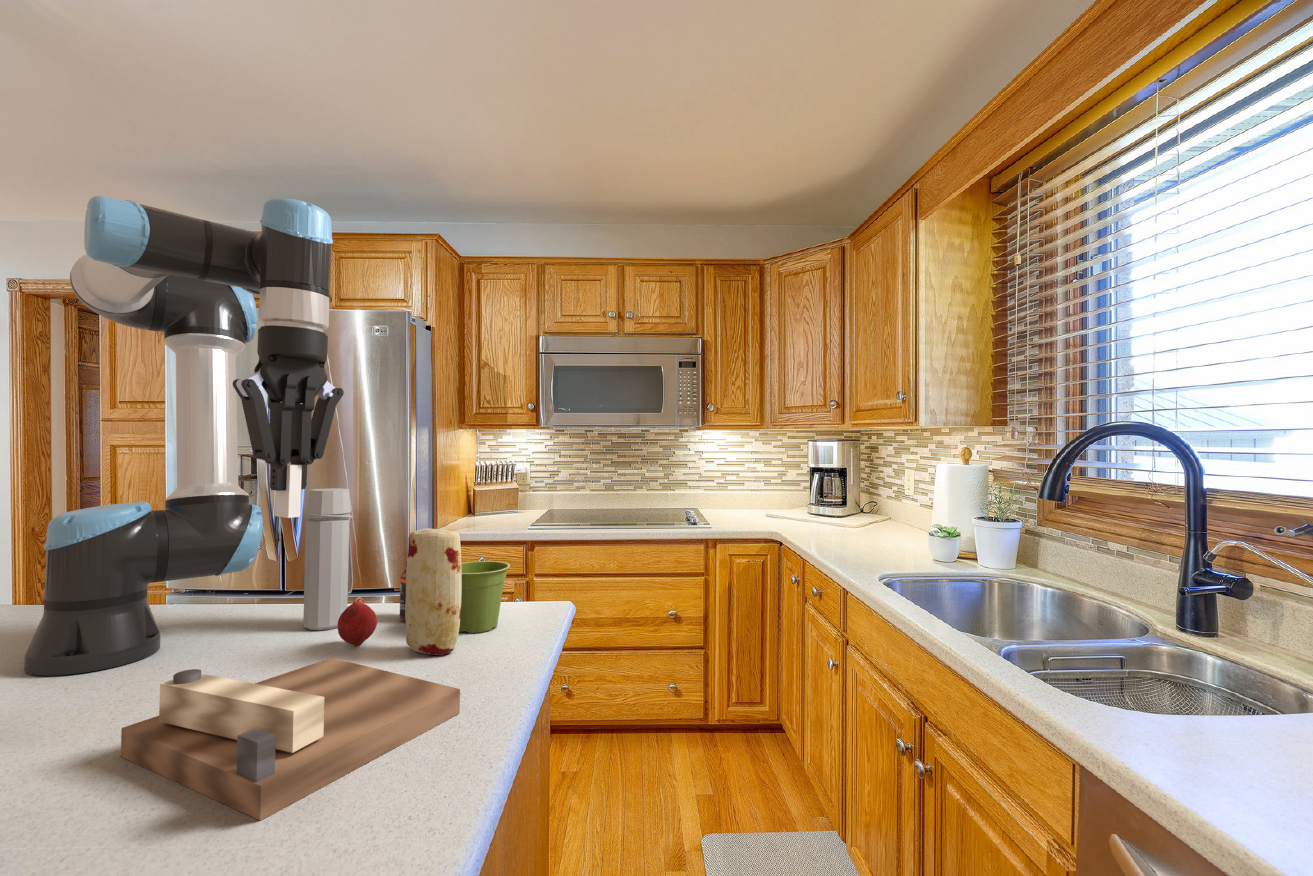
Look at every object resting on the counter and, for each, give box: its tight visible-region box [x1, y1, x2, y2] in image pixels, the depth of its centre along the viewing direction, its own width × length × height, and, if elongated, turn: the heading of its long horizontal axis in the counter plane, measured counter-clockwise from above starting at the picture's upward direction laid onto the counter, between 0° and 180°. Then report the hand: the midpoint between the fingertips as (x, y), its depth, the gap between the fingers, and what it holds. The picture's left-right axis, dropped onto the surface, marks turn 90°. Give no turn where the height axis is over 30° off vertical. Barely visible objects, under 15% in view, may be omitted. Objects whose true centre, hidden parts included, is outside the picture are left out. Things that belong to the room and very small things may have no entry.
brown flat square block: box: [120, 657, 461, 821], centre depth 68 cm, size 24×24×6 cm
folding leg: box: [158, 668, 324, 753], centre depth 62 cm, size 19×4×5 cm, turn 71°
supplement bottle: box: [399, 560, 407, 623], centre depth 114 cm, size 6×6×11 cm
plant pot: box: [459, 560, 511, 634], centre depth 109 cm, size 12×12×11 cm
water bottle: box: [302, 487, 354, 631], centre depth 110 cm, size 9×8×25 cm
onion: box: [337, 596, 378, 648], centre depth 98 cm, size 6×6×8 cm
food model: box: [405, 527, 462, 656], centre depth 96 cm, size 10×7×20 cm
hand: (287, 516), depth 75 cm, fingers closed
